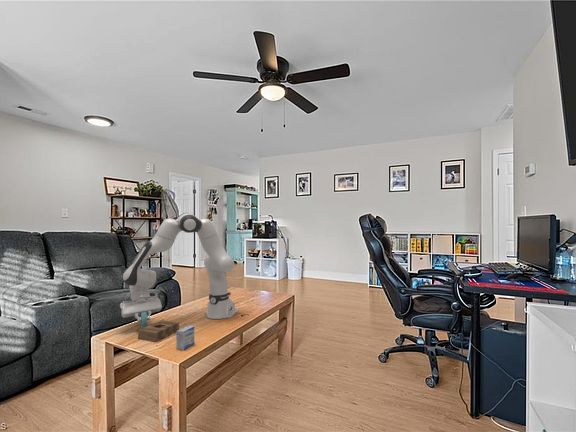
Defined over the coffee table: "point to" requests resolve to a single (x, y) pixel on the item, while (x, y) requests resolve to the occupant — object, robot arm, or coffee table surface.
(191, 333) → the medicine box
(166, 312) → the coffee table surface
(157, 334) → the hole block
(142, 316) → the peg
